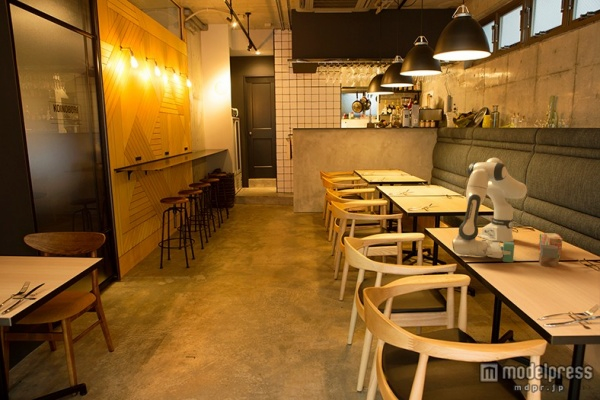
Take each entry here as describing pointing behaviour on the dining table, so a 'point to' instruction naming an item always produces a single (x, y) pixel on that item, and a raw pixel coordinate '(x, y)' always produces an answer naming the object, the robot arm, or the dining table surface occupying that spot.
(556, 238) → the stack of blocks
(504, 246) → the teal pillar
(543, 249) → the tower top
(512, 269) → the dining table surface
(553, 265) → the tower base
